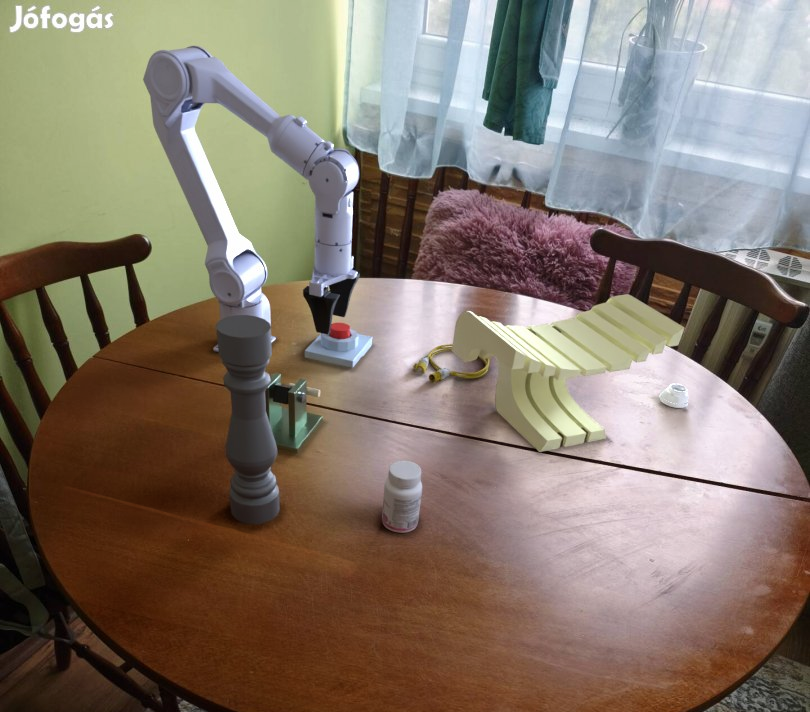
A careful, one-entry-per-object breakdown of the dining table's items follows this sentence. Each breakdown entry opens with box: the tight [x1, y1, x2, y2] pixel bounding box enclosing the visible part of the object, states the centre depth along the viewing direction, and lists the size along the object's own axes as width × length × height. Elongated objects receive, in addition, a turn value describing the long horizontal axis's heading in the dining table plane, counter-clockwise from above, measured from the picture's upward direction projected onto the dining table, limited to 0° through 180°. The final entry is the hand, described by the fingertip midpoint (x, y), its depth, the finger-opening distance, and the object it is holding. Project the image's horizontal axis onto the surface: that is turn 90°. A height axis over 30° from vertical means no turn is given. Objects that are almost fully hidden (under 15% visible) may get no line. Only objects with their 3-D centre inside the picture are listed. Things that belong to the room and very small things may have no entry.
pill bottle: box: [381, 460, 423, 534], centre depth 87 cm, size 5×5×8 cm
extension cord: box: [413, 343, 490, 384], centre depth 125 cm, size 12×16×2 cm
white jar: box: [658, 383, 690, 409], centre depth 122 cm, size 5×3×5 cm
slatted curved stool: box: [451, 294, 686, 453], centre depth 108 cm, size 30×16×18 cm, turn 115°
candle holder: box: [215, 315, 281, 525], centre depth 81 cm, size 6×6×25 cm
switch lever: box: [273, 382, 321, 406], centre depth 103 cm, size 10×5×2 cm, turn 165°
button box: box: [304, 327, 373, 369], centre depth 125 cm, size 11×9×4 cm
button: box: [330, 322, 351, 339], centre depth 123 cm, size 4×4×2 cm
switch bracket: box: [265, 372, 324, 454], centre depth 101 cm, size 10×8×8 cm
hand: (331, 323), depth 116 cm, fingers open, 7 cm apart
